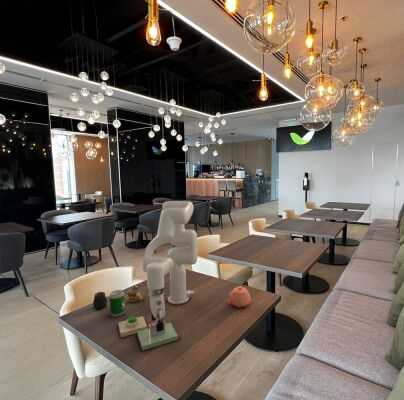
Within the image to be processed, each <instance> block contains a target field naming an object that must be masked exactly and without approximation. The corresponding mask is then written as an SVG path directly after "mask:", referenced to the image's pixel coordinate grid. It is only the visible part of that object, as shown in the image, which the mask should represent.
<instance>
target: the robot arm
mask: <svg viewBox="0 0 404 400" xmlns="http://www.w3.org/2000/svg"><path fill="white" fill-rule="evenodd" d="M193 213H194V204H193V202H192V201H189V200H167V201H164V202H163V203H162V210H161V212H160V216H159V222H158V228H157V233H156V235H155V237H154V238H152V240H151V241H150V242H149V243H148V245H147V246H146V248H145V250H144V254H143V257H142V264H141V265H142V266H141V267H142V270H143V272H144V273H146V290H147V291H146V292H147V296H148V297H149V307H150V308H149V309H150V310H151V313H150V315H151V321H152V322H153V321H155V322H157V323H156V331H157V332H159V331H163V330H164V321H165V320H164V317H165V316H166V306H165V298H164V295H165V276H167V275H168V274H169V296H168V297H167V302H168V303H169V304H171V305H182V304H185V303H187V302H188V301H189V300H190V296H191V295H194V294H195V291H194V290H191V289H188V290H187V271H186V267H185V265H188V266H189V265H191V266H192V265H196V264H197V263H198V258H199V257H198V255H199V254H198V251H199V250H198V234H197V231H196V230H194V229H185V225H187V224H188V223H189V221H190V220H191V217H192V216H193ZM169 242H170V244H171V245H172V246H176V247H171V248H170V249H169V250H168V251H167V257H164V256H153V254H154V251H156V249H157V248H159V247H160V246H162V245H164V244H167V243H169ZM163 320H164V321H163Z"/></svg>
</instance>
